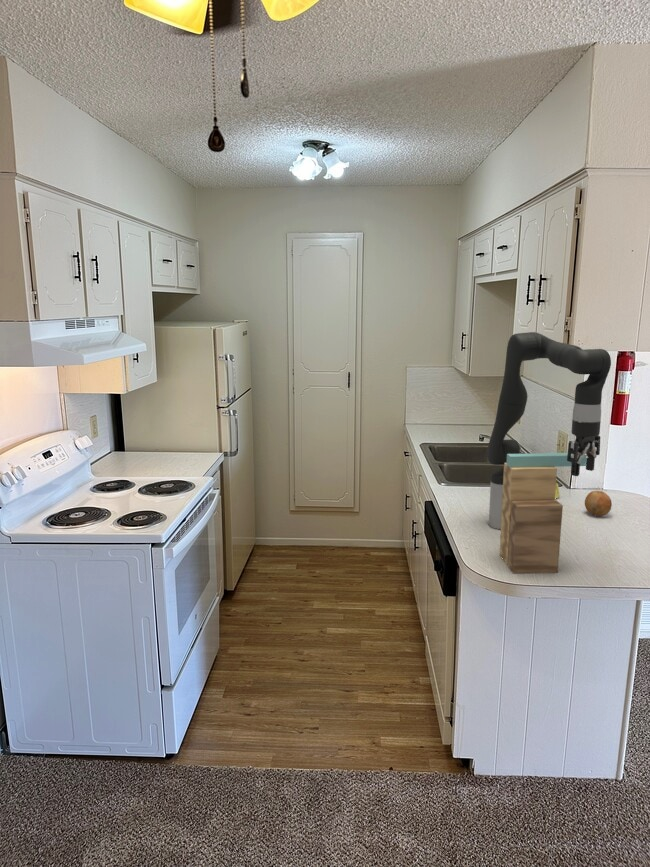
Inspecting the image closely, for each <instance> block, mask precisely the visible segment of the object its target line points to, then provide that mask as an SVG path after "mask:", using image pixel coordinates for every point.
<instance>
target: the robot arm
mask: <svg viewBox="0 0 650 867" xmlns="http://www.w3.org/2000/svg"><path fill="white" fill-rule="evenodd" d="M505 353H506V355H505V364H504V365H505V366H504V371H503V372H504V374H503V380H502V386H501V389H500V394H499V399H498V402H497V410H496V414H495V415H496V416H495V419H494V425H493V429H492V433H491V435H490V437H489V442H488V444H487V453H486V455H487V461H488V463H490V465H493V466H495V465H496V466H498V465H499V466H503V467H501V468H500V469H498V470H496V471H494V472H492V473H491V475H490V488H489V507H488V509H489V510H488V512H489V513H488V526H489V527H491V528H494V529H496V530H497V529H498V530H501V516H502V496H503V477H504V463H507V454H521V447H520V444H519V442H518V441H517V440H515V439H514V438H513V439H505V438H506V436H507V435H508V432H509V431H511V429H512V428H513V427H514V426H515V425H516V424H517V423H518V422H519V421H520V420H521V418H522V417H523V415H524V414H525V410H526V406H527V402H528V396H529V395H528V391H527V388H526V387H525V384H524V382H523V380H522V378H521V367H522V363H523V362H527V361H534V360H538V359H548V361H549V362H551V364H553V365H555V366H557V367H561V368H564V369H568V371H571V373H573V374H577V375H588V377H587V379H585V381H583V382H580V383H577V384H576V386H575V390H574V391H575V392H574V405H573V407H572V408H573V409H572V419H571V435H573V436H574V437H575V440H574V441H572V440H571V441H570V440H569V441H568V447H567V453H568V455H567V461H569V462H571V463H572V465H571V466H570V467H571V468H570V475H571V476H573V477H579V475H580V469H581V466H580V464H579V463H580V461H581V459H582V458H583V457H584V456H585V455H586V466H585V470H586V471H590V472H593V471H594V470H595V461H596V460H595V459H596V458H597V456H600V450H601V435H600V433H601V432H600V431H601V422H602V421H601V419H602V397H603V396H602V394H603V388H604V386H605V383H606V381H607V378H608V376H609V372H610V371H611V370H610V369H611V366H612V365H611V364H612V359H611V356H610V353H609V352H608V351H607V350H606V349H602V348H594V349H590V348H588V349H583V348H581V347H580V346H577V345H573V344H569V343H564V342H561V341H556V340H554V339H552V338H549V337H548V336H546V335H543V334H542V333H539V332H535V331H531V332H519V333H514V334H512V335H511V336H510V337H509V340H508V342H507V346H506V352H505ZM571 454H572V457H571ZM577 457H578V459H577Z"/></svg>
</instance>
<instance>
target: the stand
mask: <svg viewBox="0 0 650 867" xmlns="http://www.w3.org/2000/svg"><path fill="white" fill-rule="evenodd" d="M506 464H507V463H504V465H503V467H504V477H503V496H502V516H501V529H500V539H499V557H500V558H501V557H502V558H503V559H502V558H501V559H502V560H503V561H505V562H504V563H505V564H506V566H508V560H509V542H510V524H511V505H512V501H543V500H556V499H555V491H556V483H557V475H558V467H509V466H508V465H506Z"/></svg>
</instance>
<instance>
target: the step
mask: <svg viewBox="0 0 650 867" xmlns="http://www.w3.org/2000/svg"><path fill="white" fill-rule="evenodd" d="M563 506H564V505H563V504H562V503H561V502H559V501H558V500H557V499H555V500H543V501H512V505H511V524H510V542H509V560H508V565H507V567H508V568H509V570H510V569H511V570H510V571H511V573H512V574H545V573H546V574H547V573H548V574H550V573H553V574H555V573H559V564H560V560H559V559H560V549H561V533H562V520H563Z"/></svg>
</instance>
